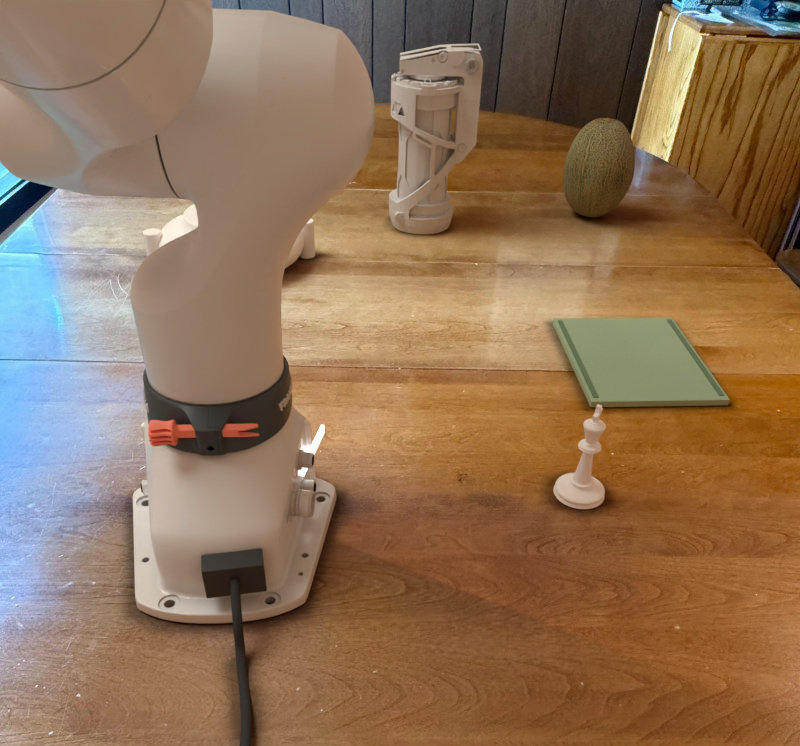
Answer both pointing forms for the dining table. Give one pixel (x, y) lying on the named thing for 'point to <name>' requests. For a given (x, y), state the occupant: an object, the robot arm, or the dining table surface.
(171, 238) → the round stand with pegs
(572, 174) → the fruit
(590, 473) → the chess piece
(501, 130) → the dining table surface
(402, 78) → the lantern
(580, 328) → the green rectangular board
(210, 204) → the robot arm
